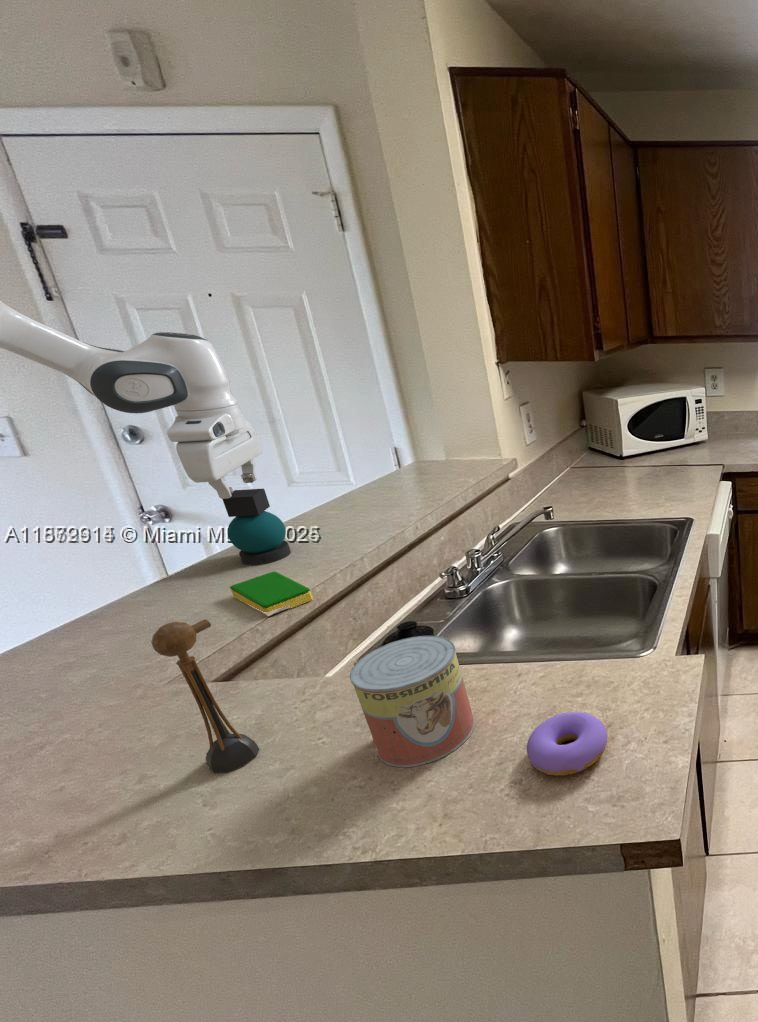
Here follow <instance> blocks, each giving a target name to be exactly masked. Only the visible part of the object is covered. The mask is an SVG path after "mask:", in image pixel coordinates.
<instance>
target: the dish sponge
mask: <svg viewBox="0 0 758 1022" xmlns="http://www.w3.org/2000/svg"><path fill="white" fill-rule="evenodd" d="M229 589H230V591H231V593H232V596H233V598H235V599H236V600H238V599H239V600H238V601H240V600H241V601H240V602H242V603H243V602H245V603H247V604H249V605H251V606H253V607H255V608H257V609H259V610H261V611H263V612H270V611H272V610H275V609H278V608H282V607H285V606H289V605H290V609H293V608H295V607H298V606H301V605H303V604H306V603H308V602H310V601H313V600H314V597H313V594H312V592H311V589H310V588H309V587H307V586H305V585H303V584H301V583H299V582H297V581H295V580H293V579H291V578H289V577H287V576H285V575H283V574H281V573H279V572H277V571H271V572H267V573H264V574H262V575H259V576H256V577H253V578H250V579H247V580H245V581H241V582H238V583H236V584H232V585H230V586H229ZM245 603H244V604H245ZM247 604H246V605H247Z"/></svg>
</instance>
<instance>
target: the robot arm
mask: <svg viewBox="0 0 758 1022" xmlns="http://www.w3.org/2000/svg"><path fill="white" fill-rule="evenodd" d="M0 349H3V350H5V351H8V352H11V353H13V354H15V355H18V356H21V357H23V358H25V359H28V360H31V361H33V362H35V363H37V364H40V365H41V366H45V367H47V368H50V369H53V370H54V371H57V372H59V373H62V374H64V375H65V376H67V377H70V379H73V380H74V381H76V382H77V383H78V384H79V385H80V386H82V387H83V388H84V389H85V390H86V391H87V392H88V393H90V395H92V396H93V397H95V398H96V399H97V400H98V401H100V402H101V403H102V404H104V405H105V406H107V407H108V408H111V409H112V410H116V411H118V412H121V413H126V414H136V415H137V414H147V413H151V412H154V411H158V410H161V409H165V408H169V407H172V406H173V407H174V410H175V412H176V415H177V416H175V419H174V421H173V423H172V425H171V426H170V427H169V428H168V429H167V431H166V432H167V433H166V434H167V437H168V439H169V441H170V442H172V443H176V445H175V449H176V453H177V457H178V458H179V461H180V463H181V465H182V467H183V469H184V472H185V474H186V476H187V477H188V478H189V479H190V480H191V481H192V482H194V483H196V484H197V483H208V485H210V486H211V488H213V489H214V490H215V491H216V493H217V495H218V497H219V499H227V498H230V497H232V496H233V495H234V492H233V491H234V490H233V487H232V486H229V485H228V483H226V481H227V479H226V475H227V476H228V475H229V474H230V473H231V472H234V471H235V470H237V469H238V468H240V467H241V473H242V474H240V477H241V479H242V482H243V483H244V484H251V483H254V482H256V481H257V480H258V478H257V475H256V473H255V472H256V462H255V458H257V457H258V456H260V455H262V454H263V446H262V442H261V440H260V438H259V436H258V434H257V432H256V430H255V428H254V426H253V424H252V423H251V422H250V421H249V420H247V419H246V418H245V416H244V415H243V413H242V411H241V408H240V405H239V404H238V403H239V402H238V400H237V399H236V397H235V396H234V394H233V393H232V391H231V389H230V388H231V387H230V378H229V376H228V373H227V371H226V368H225V365H224V363H223V360H222V359H221V357H220V355H219V353H218V351H217V349H216V348H215V346H214V344H212V343H211V342H210V341H209V340H208V339H206V338H204V337H201V336H199V335H195V334H189V333H181V332H169V331H168V332H167V331H166V332H163V331H162V332H161V331H160V332H154V333H152V334H151V335H150V336H149V337H148V338H147V339H145V340H144V341H142V342H140V343H139V344H137V345H135V346H133V347H131V348H130V349H129V348H128V349H127V350H121V349H116V348H115V349H114V348H107V347H100V346H96V345H92V344H90V343H87V342H84V341H82V340H80V339H77V338H75V337H73V336H70V335H68V334H66V333H64V332H62V331H59V330H58V329H55V328H53V327H50V326H48V325H46V324H43V323H42V322H39V321H37V320H35V319H33V318H31V317H29V316H27V315H24V314H23V313H21V312H19V311H17V310H16V309H14V308H13V307H11V306H9V305H8V304H6V303H5V302H3V301H2V300H0Z"/></svg>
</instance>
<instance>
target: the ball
mask: <svg viewBox="0 0 758 1022" xmlns="http://www.w3.org/2000/svg"><path fill="white" fill-rule="evenodd" d="M286 535H287V530H286V526H285V524H284V522H283V521H282V520H281V518H280V517H278V515H276V514H274V513H271V512H270V511H266V510H265V511H264V512H262V513H261V514H260V515H252V516H237V517H234V518H233V519H231V521H230V522H229V524H228V527H227V537H228V539H229V541H230V543H231V544H232V545H233V546H234V547H235V548H236V549H238V550H240V551H239V552H238V555H239V558H240V560H241V563H242V564H244V565H246V566H259V565H260V566H261V565H267V564H270V563H273V561H274V562H277V561H280V560H282V559H285V558H286V557H288V556H289V555H290V554H291V553H292V550H291V548H290V545H289V543H288V541H286V540H285V538H286ZM287 555H288V556H287Z"/></svg>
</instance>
